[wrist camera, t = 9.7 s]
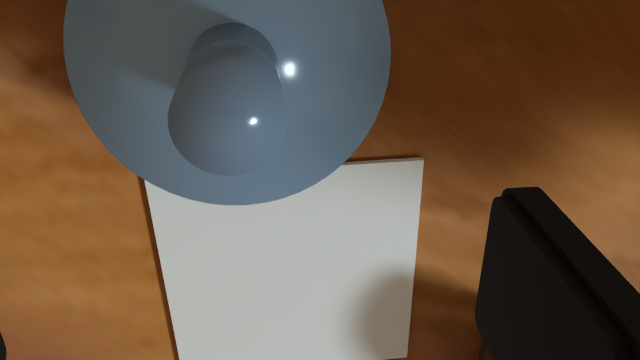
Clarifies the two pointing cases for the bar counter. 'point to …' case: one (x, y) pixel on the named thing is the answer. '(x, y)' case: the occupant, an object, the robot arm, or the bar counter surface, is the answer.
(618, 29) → the bar counter surface
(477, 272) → the bar counter surface
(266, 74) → the lid
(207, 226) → the mat
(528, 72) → the bar counter surface
